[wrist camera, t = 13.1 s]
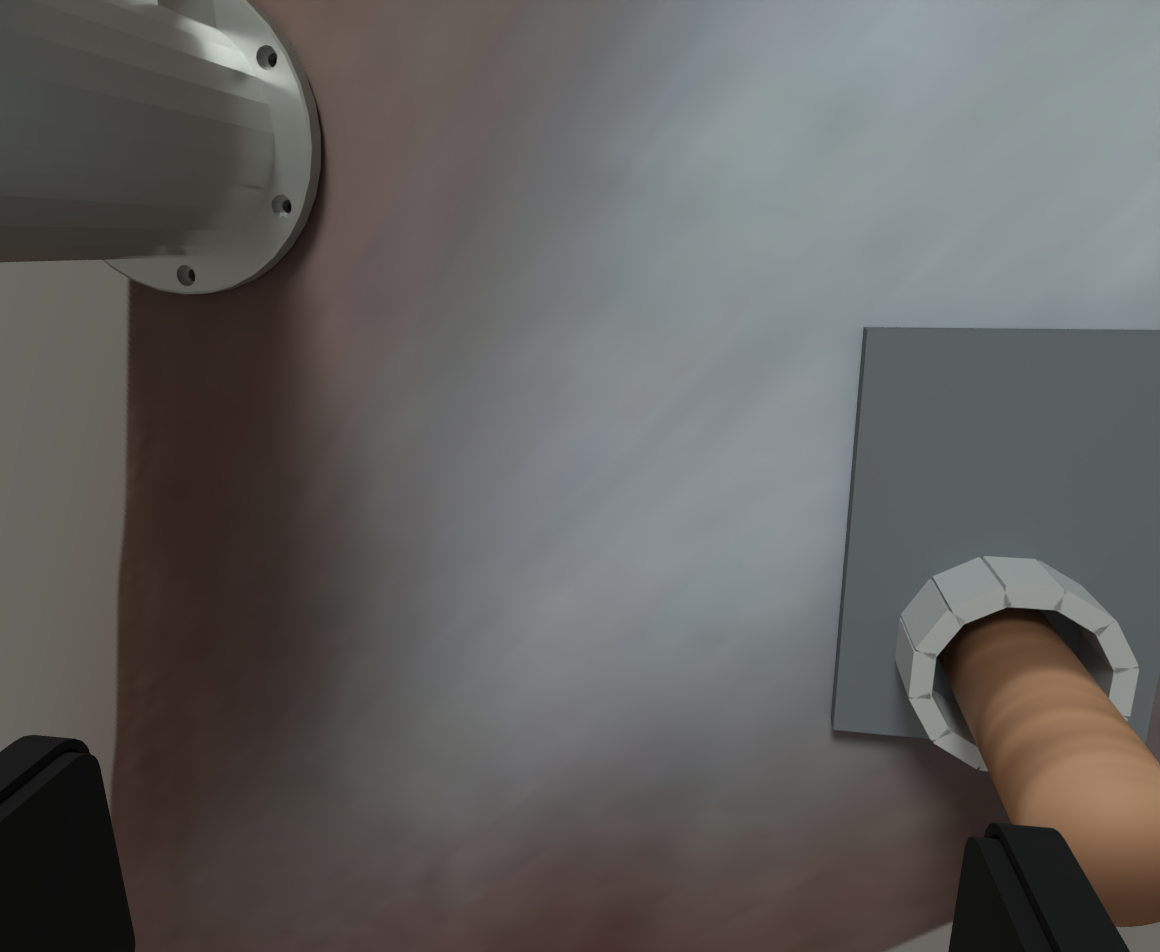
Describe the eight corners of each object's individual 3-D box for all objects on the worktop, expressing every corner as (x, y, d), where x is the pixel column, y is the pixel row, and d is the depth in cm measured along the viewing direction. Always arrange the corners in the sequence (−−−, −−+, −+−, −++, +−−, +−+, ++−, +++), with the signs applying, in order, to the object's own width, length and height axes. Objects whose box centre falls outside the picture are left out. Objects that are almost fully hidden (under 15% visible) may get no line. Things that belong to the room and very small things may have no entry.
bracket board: (863, 327, 32) (880, 338, 28) (1212, 330, 30) (1281, 343, 26) (831, 717, 36) (841, 772, 33) (1131, 744, 34) (1179, 807, 31)
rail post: (942, 591, 33) (1044, 778, 22) (1062, 598, 32) (1233, 797, 21) (930, 689, 34) (1021, 914, 23) (1046, 698, 33) (1199, 937, 22)
